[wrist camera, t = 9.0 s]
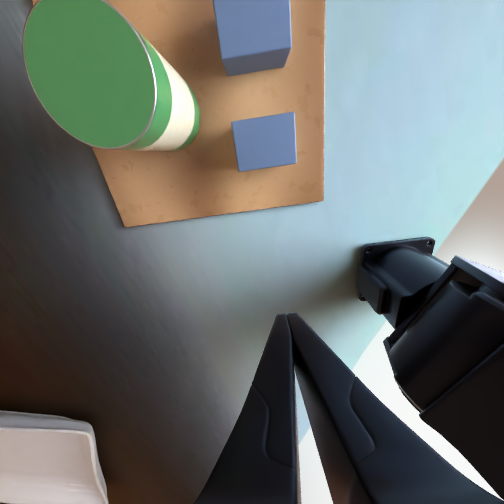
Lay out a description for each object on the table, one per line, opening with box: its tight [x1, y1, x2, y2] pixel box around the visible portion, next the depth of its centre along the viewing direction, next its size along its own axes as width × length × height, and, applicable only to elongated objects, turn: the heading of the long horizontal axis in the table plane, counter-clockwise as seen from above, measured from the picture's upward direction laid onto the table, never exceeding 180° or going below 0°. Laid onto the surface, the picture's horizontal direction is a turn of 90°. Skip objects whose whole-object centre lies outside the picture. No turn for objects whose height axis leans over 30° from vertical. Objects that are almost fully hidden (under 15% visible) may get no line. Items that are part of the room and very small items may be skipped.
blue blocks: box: [212, 0, 297, 172], centre depth 14 cm, size 4×9×3 cm, turn 8°
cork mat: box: [32, 0, 325, 227], centre depth 16 cm, size 18×16×1 cm
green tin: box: [23, 0, 201, 151], centre depth 12 cm, size 9×5×9 cm
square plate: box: [0, 410, 108, 504], centre depth 35 cm, size 27×27×4 cm
